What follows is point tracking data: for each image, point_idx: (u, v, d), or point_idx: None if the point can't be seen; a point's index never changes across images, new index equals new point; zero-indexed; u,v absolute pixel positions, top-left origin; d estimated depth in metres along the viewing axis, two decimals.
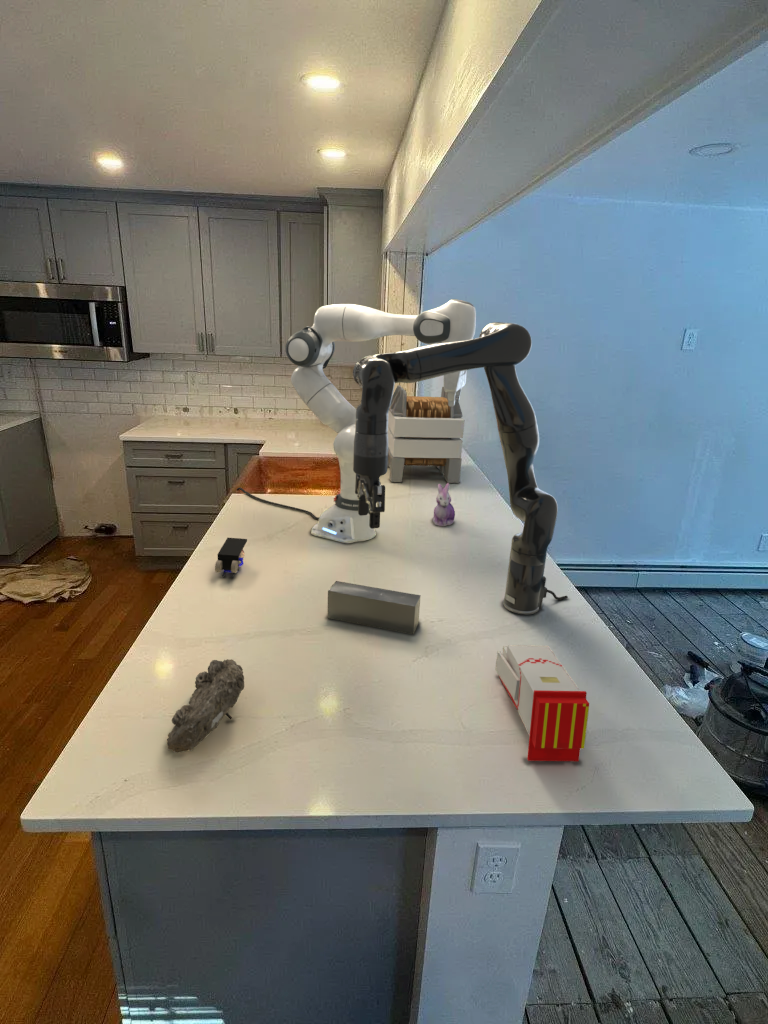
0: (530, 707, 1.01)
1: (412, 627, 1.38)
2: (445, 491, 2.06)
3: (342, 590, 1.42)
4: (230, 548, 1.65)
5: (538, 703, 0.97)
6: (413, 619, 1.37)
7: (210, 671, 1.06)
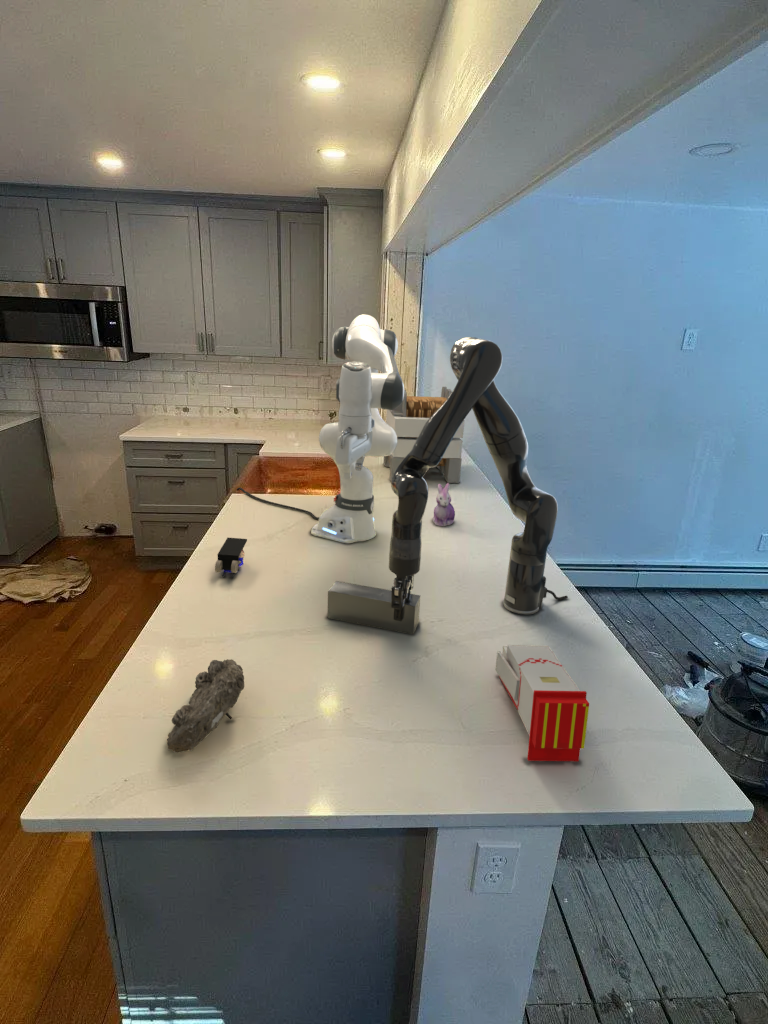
0: (530, 707, 1.01)
1: (412, 627, 1.38)
2: (445, 491, 2.06)
3: (342, 590, 1.42)
4: (230, 548, 1.65)
5: (538, 703, 0.97)
6: (413, 619, 1.37)
7: (210, 671, 1.06)
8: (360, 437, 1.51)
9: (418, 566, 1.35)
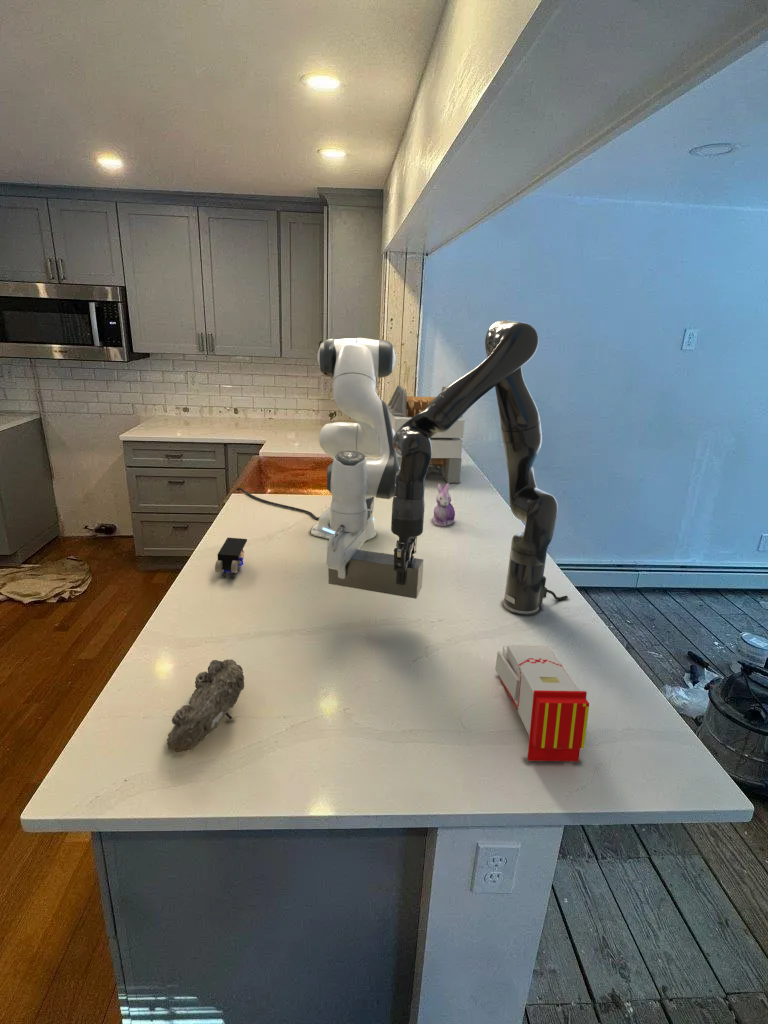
0: (530, 707, 1.01)
1: (415, 591, 1.35)
2: (445, 491, 2.06)
3: None
4: (230, 548, 1.65)
5: (538, 703, 0.97)
6: (416, 583, 1.34)
7: (210, 671, 1.06)
8: (354, 534, 1.35)
9: (421, 527, 1.31)
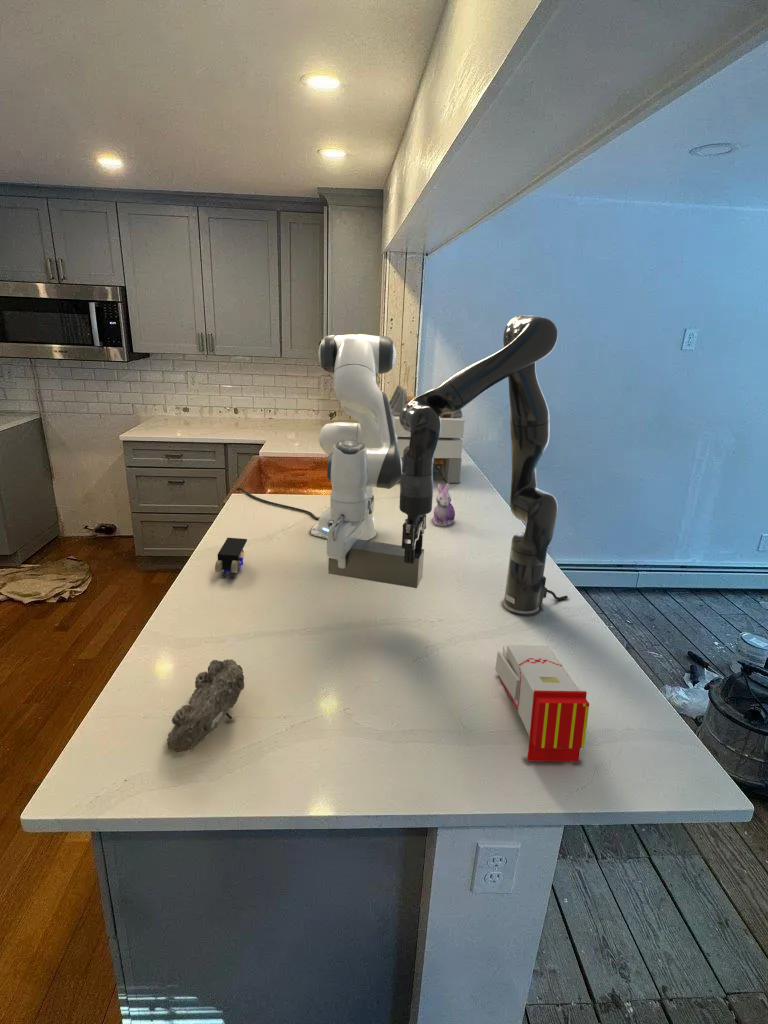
0: (530, 707, 1.01)
1: (416, 581, 1.34)
2: (445, 491, 2.06)
3: None
4: (230, 548, 1.65)
5: (538, 703, 0.97)
6: (417, 572, 1.33)
7: (210, 671, 1.06)
8: (354, 524, 1.35)
9: (430, 505, 1.29)
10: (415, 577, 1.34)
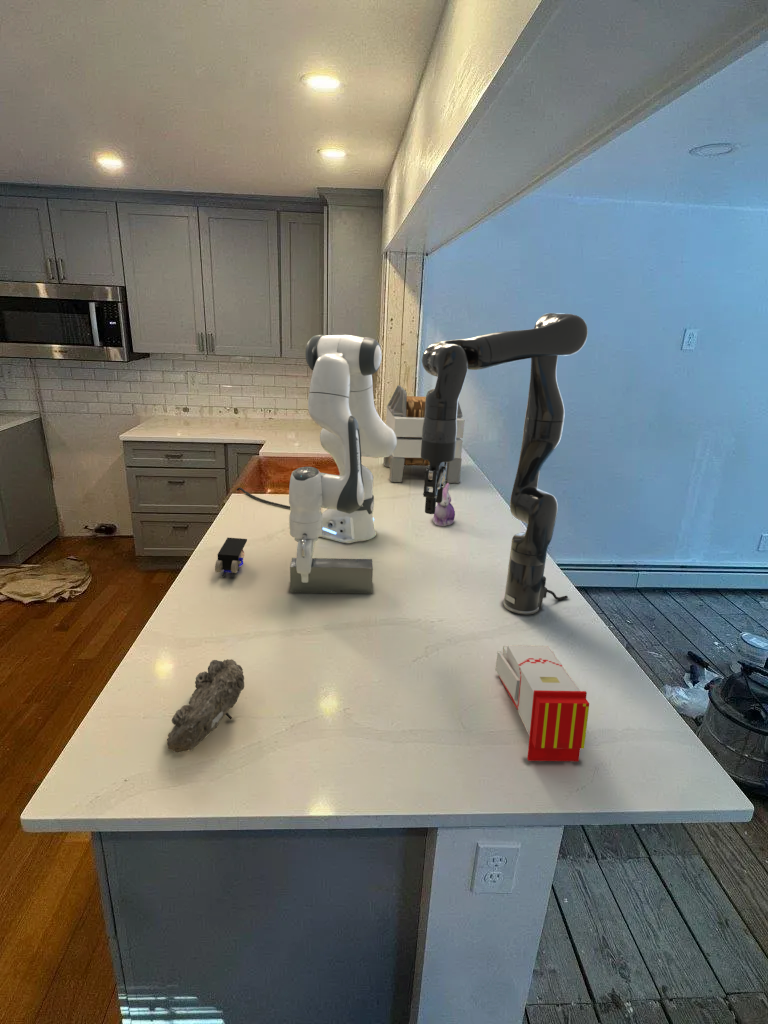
0: (530, 707, 1.01)
1: (370, 587, 1.57)
2: (445, 491, 2.06)
3: None
4: (230, 548, 1.65)
5: (538, 703, 0.97)
6: (371, 580, 1.56)
7: (210, 671, 1.06)
8: (314, 540, 1.52)
9: (453, 452, 1.24)
10: (370, 584, 1.56)
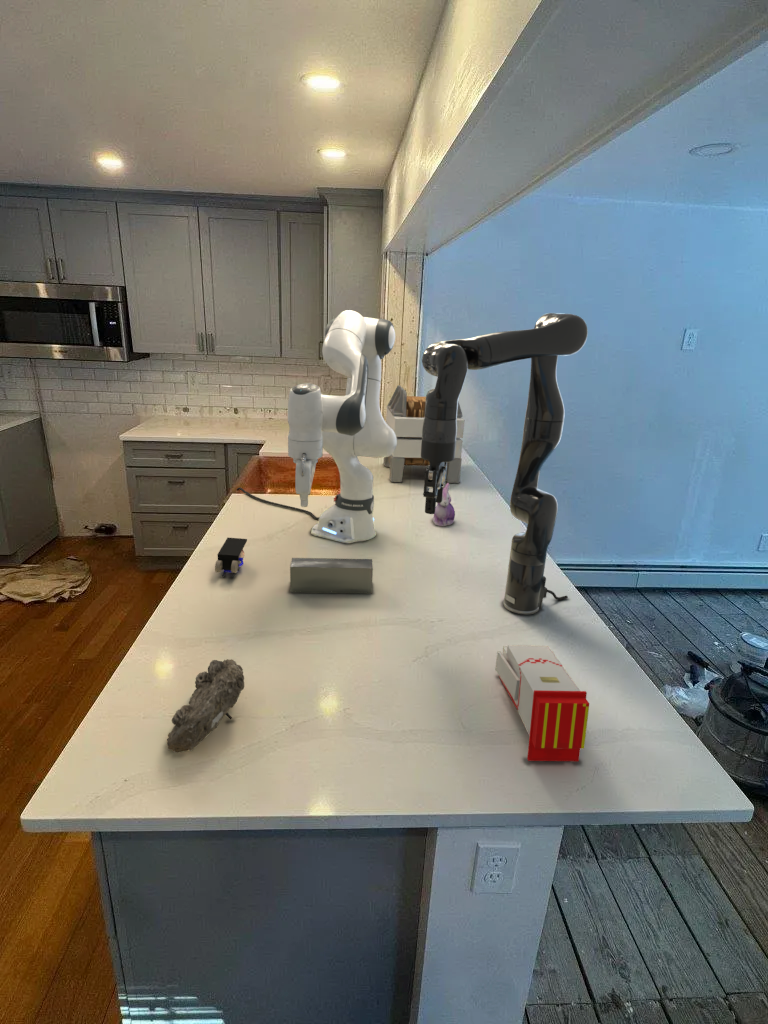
0: (530, 707, 1.01)
1: (370, 587, 1.57)
2: (445, 491, 2.06)
3: (302, 564, 1.55)
4: (230, 548, 1.65)
5: (538, 703, 0.97)
6: (371, 580, 1.56)
7: (210, 671, 1.06)
8: (314, 462, 1.45)
9: (453, 452, 1.24)
10: (370, 584, 1.56)
